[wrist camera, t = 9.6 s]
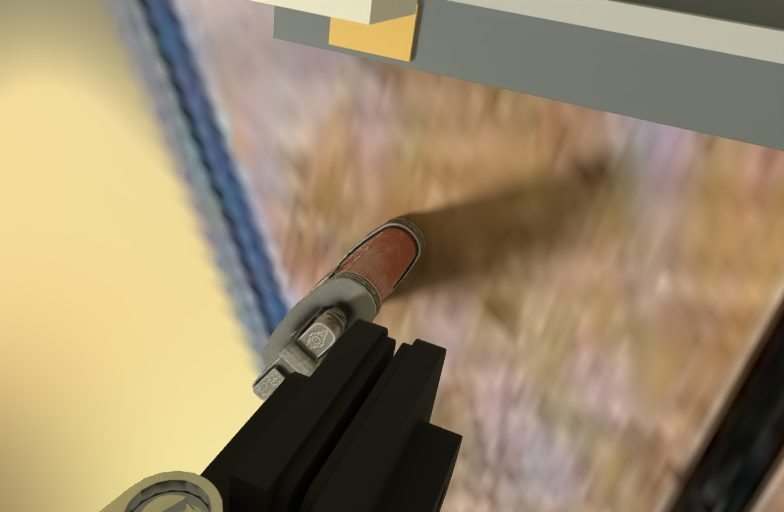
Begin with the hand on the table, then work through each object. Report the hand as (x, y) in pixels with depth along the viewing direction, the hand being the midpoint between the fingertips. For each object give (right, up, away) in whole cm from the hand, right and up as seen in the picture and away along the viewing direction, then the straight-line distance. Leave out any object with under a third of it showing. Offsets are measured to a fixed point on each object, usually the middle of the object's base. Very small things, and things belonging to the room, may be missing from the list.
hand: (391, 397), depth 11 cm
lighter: (-1, +2, +24) cm, 24 cm away
